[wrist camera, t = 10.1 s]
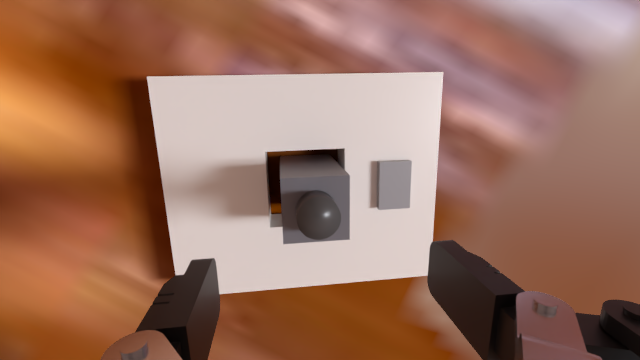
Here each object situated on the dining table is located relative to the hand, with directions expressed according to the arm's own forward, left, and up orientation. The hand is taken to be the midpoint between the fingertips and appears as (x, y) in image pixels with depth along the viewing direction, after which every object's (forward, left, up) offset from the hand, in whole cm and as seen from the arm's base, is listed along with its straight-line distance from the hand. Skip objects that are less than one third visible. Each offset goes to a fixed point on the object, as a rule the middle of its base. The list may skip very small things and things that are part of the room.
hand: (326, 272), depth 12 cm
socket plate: (0, 0, -15) cm, 15 cm away
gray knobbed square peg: (0, 0, -15) cm, 15 cm away
